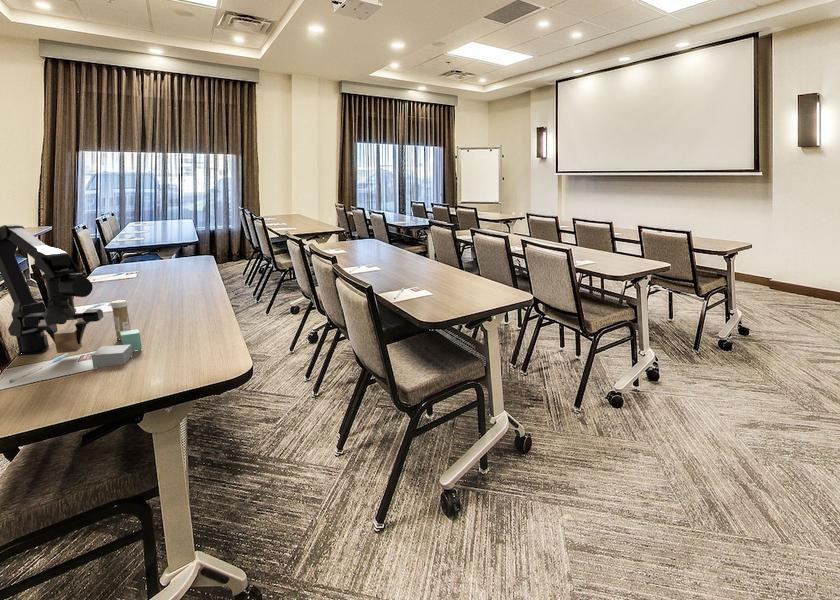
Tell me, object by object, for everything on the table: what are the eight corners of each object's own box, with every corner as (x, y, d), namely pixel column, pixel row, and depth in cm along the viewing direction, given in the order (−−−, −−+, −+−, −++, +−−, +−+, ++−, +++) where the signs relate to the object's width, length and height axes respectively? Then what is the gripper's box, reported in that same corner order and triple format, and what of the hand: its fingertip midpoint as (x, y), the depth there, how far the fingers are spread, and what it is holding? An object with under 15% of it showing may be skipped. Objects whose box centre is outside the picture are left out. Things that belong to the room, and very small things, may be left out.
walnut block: (57, 353, 140) (53, 334, 138) (62, 348, 144) (59, 329, 143) (77, 351, 142) (73, 332, 140) (82, 346, 146) (79, 327, 145)
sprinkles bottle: (132, 339, 161) (127, 301, 158) (116, 341, 159) (110, 303, 156) (131, 336, 165) (126, 298, 162) (116, 338, 163) (110, 300, 160)
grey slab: (93, 368, 136) (91, 355, 135) (103, 359, 143) (101, 346, 142) (124, 365, 138) (122, 352, 137) (132, 356, 146) (131, 344, 145)
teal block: (123, 353, 147) (121, 335, 146) (122, 349, 151) (119, 331, 150) (142, 350, 150) (139, 332, 149) (140, 346, 154) (138, 329, 153)
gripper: (9, 302, 129) (19, 356, 132) (89, 297, 135) (97, 349, 138) (26, 294, 139) (35, 345, 142) (100, 290, 145) (107, 338, 149)
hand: (69, 344), depth 143 cm, fingers closed on walnut block, 5 cm apart
